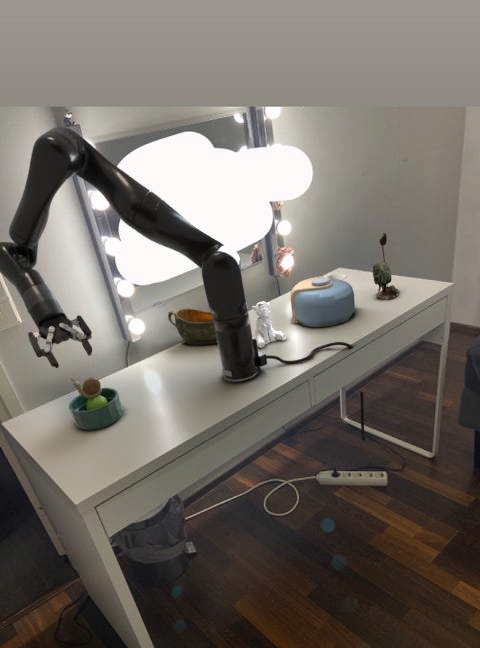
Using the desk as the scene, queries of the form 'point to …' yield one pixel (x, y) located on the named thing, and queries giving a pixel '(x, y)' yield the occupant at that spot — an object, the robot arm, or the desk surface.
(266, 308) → the seated beast figurine
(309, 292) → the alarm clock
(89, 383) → the snail figurine
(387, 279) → the plant with pod
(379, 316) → the desk surface
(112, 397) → the bowl
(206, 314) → the cup
